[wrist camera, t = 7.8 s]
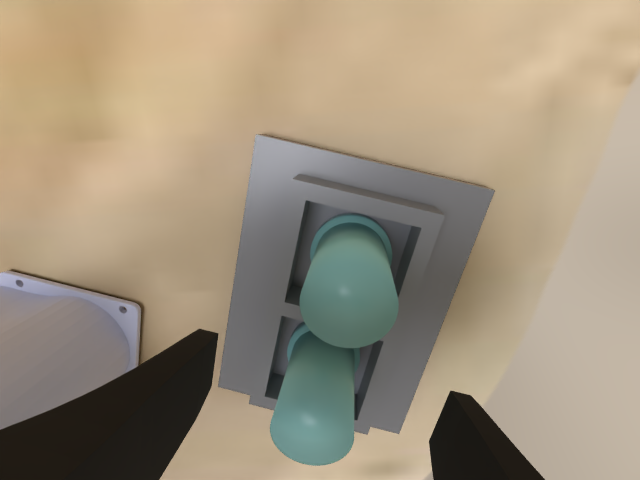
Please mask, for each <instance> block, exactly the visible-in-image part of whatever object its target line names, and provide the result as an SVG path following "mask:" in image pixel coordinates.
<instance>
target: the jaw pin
mask: <svg viewBox="0 0 640 480" xmlns="http://www.w3.org/2000/svg"><path fill="white" fill-rule="evenodd" d="M310 260H311V265H310V268H309V271H308V273H307V276H306V279H305V282H304V285H303V288H302V290H301V294H300V311H301V315H302V318H303V320H304V322H305V324H306V325H307V327H308V328H309V329H310V331H311V332H312V333H313V334H314V335H315V336H317V337H318V338H319V339H321V340H322V341H324V342H326V343H328V344H331V345H333V346H337V347H342V348H359V347H364V346H367V345H370V344H373V343H375V342H377V341H378V340H380V339H381V338H382V337H384V336H385V335H386V334H387V333H388V332H389V331H390V329H391V328H392V327H393V325H394V323H395V321H396V318H397V315H398V307H399V303H398V296H397V292H396V288H395V284H394V281H393V277H392V273H391V269H390V266H391V263H392V248H391V244H390V241H389V238H388V235H387V233H386V232H385V230H384V229H383V227H382V226H381V225H380V224H379V223H378V222H376V221H375V220H374V219H372V218H370V217H368V216H366V215H363V214H359V213H343V214H339V215H336V216H334V217H332V218H330V219H328V220H327V221H326V222H325V223H323V224H322V226H321V227H320V228H319V229H318V231H317V232H316V234H315V237H314V239H313V242H312V245H311V249H310Z"/></svg>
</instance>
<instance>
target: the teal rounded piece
mask: <svg viewBox="0 0 640 480" xmlns="http://www.w3.org/2000/svg"><path fill="white" fill-rule="evenodd" d="M287 357H288V361H289V363H288V366H287V370H286V373H285V376H284V380H283V383H282V386H281V390H280V393H279V397H278V400H277V403H276V407H275V410H274V413H273V417H272V420H271V424H270V433H271V437H272V440H273V442H274V444H275V445H276V446H277V448H278V449H279V450H280V451H281V452H282V453H283V454H284V455H286V456H287V457H289V458H290V459H292V460H294V461H297V462H299V463H302V464H307V465H317V466H319V465H327V464H331V463H334V462H336V461H339V460H340V459H342V458H343V457H344V456H346V454H347V453H348V452H349V451H350V449H351V447H352V445H353V441H354V380H355V372H356V370H357V369H358V366H359V362H360V347H359V348H342V347H337V346H333V345H331V344H328V343H326V342H324V341H322V340H321V339H319V338H318V337H317V336H315V335H314V334H313V333H312V332H311V331H310V329H309V328H308V327H307V325H306V324H305V322H302V323H301V324H300V325H298V326H297V327H296V329H295V330H294V331H293V333H292V335H291V338H290V342H289V345H288V349H287Z"/></svg>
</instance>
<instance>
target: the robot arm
mask: <svg viewBox="0 0 640 480" xmlns="http://www.w3.org/2000/svg"><path fill="white" fill-rule="evenodd" d="M123 306H124V307H125V308H126V309H127V310H125V309H124V308H123ZM140 324H141V308H140V306H139V305H138V304H137V303H135V302H131V301H127V300H123V299H119V298H115V297H111V296H107V295H103V294H99V293H96V292H92V291H88V290H84V289H80V288H76V287H72V286H68V285H64V284H60V283H56V282H52V281H48V280H44V279H40V278H37V277H33V276H29V275H25V274H21V273H17V272H13V271H4V272H2V273H0V480H159V479H160V477H161V476H162V474H163V472H164V471H165V469H166V468H167V466H168V464H169V463H170V461H171V459H172V458H173V456H174V455H175V453H176V451H177V450H178V448H179V446H180V445H181V443H182V441H183V440H184V438H185V437H186V435H187V433H188V432H189V430H190V428H191V427H192V425H193V423H194V422H195V420H196V418H197V416H198V414H199V412H200V410H201V408H202V406H203V404H204V401H205V399H206V397H207V395H208V393H209V391H210V388H211V386H212V378H213V371H214V363H215V355H216V348H217V340H218V333H214V332H210V331H206V330H202V329H198V330H196V331H195V332H193V333H191V334H190V335H188V336H187V337H185V338H183V339H182V340H180V341H179V342H177V343H175V344H174V345H172V346H171V347H169V348H167V349H166V350H164V351H163V352H161V353H159V354H158V355H156V356H154V357H153V358H151V359H149V360H147V361H146V362H144V363H142V364H141V365H139V366H138V363H139V343H140ZM429 445H430V454H431V463H432V471H433V478H434V480H545V479H544V478H543V477H542V476H541V475H540V474H539V473H538V471H537V470H536V469H535V468H534V467H533V466H532V465H531V464H530V463H529V461H528V460H527V459H526V458H525V457H524V456H523V455H522V454H521V452H520V451H519V450H518V449H517V448H516V447H515V445H514V444H513V443H512V442H511V441H510V440H509V438H508V437H507V436H506V435H505V434H504V433H503V432H502V431H501V429H500V428H499V427H498V426H497V424H496V423H495V422H494V421H493V420H492V419H491V418H490V416H489V415H488V414H487V413H486V412H485V411H484V409H483V408H482V407H481V406H480V405H479V404H478V403H477V402H476V401H475V400H474V398H473V397H472V396H470V395H466V394H462V393H458V392H454V391H450V393H449V395H448V398H447V400H446V402H445V405H444V407H443V410H442V412H441V414H440V417H439V419H438V421H437V424H436V426H435V428H434V431H433V433H432V435H431V438H430V440H429Z"/></svg>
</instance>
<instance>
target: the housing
mask: <svg viewBox="0 0 640 480" xmlns="http://www.w3.org/2000/svg"><path fill="white" fill-rule="evenodd" d="M494 192H495V190H492V189H490V188H487V187H484V186H480V185H476V184H472V183H467V182H463V181H459V180H455V179H450V178H446V177H442V176H438V175H433V174H429V173H425V172H421V171H416V170H412V169H408V168H404V167H399V166H395V165H391V164H387V163H382V162H378V161H374V160H370V159H365V158H361V157H357V156H353V155H348V154H344V153H340V152H336V151H331V150H327V149H323V148H319V147H314V146H310V145H306V144H302V143H297V142H293V141H289V140H285V139H280V138H276V137H272V136H268V135H263V134H256V137H255V144H254V151H253V157H252V164H251V171H250V177H249V184H248V191H247V197H246V204H245V211H244V217H243V224H242V231H241V237H240V244H239V251H238V257H237V264H236V271H235V277H234V284H233V291H232V297H231V304H230V311H229V317H228V324H227V331H226V337H225V344H224V351H223V357H222V364H221V371H220V377H219V384H218V387H221V388H224V389H228V390H232V391H236V392H240V393H244V394H247V395H251V396H250V401H249V404H252V405H256V406H259V407H263V408H267V409H271V410H275V407H276V403H277V400H278V397H279V393H280V390H281V386H282V383H283V380H284V376H285V373H286V370H287V366H288V363H289V361H288V357H287V349H288V345H289V342H290V338H291V335H292V333H293V331H294V330H295V329H296V327H297V326H298V325H300V324H301V323H302V322H304V320H303V318H302V315H301V311H300V294H301V290H302V288H303V285H304V282H305V279H306V276H307V273H308V271H309V268H310V265H311V260H310V249H311V245H312V242H313V239H314V237H315V234H316V232H317V231H318V229H319V228H320V227H321V226H322V224H323V223H325V222H326V221H327V220H328V219H330V218H332V217H334V216H336V215H339V214H343V213H359V214H363V215H366V216H368V217H370V218H372V219H374V220H375V221H376V222H378V223H379V224H380V225H381V226H382V227H383V229H384V230H385V232H386V233H387V235H388V238H389V241H390V244H391V248H392V263H391V266H390V269H391V273H392V277H393V281H394V284H395V288H396V292H397V296H398V303H399V307H398V315H397V318H396V321H395V323H394V325H393V327H392V328H391V329H390V331H389V332H388V333H387V334H386V335H385V336H384V337H382V338H381V339H380V340H378V341H377V342H375V343H373V344H370V345H367V346H364V347H360V362H359V366H358V369H357V370H356V372H355V380H354V431H355V432H359V433H363V434H368V432H369V429H370V427H374V428H378V429H382V430H386V431H389V432H393V433H397V434H399V433H400V430H401V427H402V425H403V422H404V420H405V417H406V415H407V412H408V410H409V407H410V405H411V402H412V400H413V397H414V395H415V392H416V389H417V387H418V384H419V382H420V379H421V377H422V374H423V372H424V369H425V367H426V364H427V362H428V359H429V356H430V354H431V351H432V349H433V346H434V344H435V341H436V339H437V336H438V334H439V331H440V329H441V326H442V324H443V321H444V318H445V316H446V313H447V311H448V308H449V306H450V303H451V301H452V298H453V296H454V293H455V291H456V288H457V286H458V283H459V280H460V278H461V275H462V273H463V270H464V268H465V265H466V263H467V260H468V258H469V255H470V253H471V250H472V247H473V245H474V242H475V240H476V237H477V235H478V232H479V230H480V227H481V225H482V222H483V220H484V217H485V215H486V212H487V209H488V207H489V204H490V202H491V199H492V197H493V194H494Z"/></svg>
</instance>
